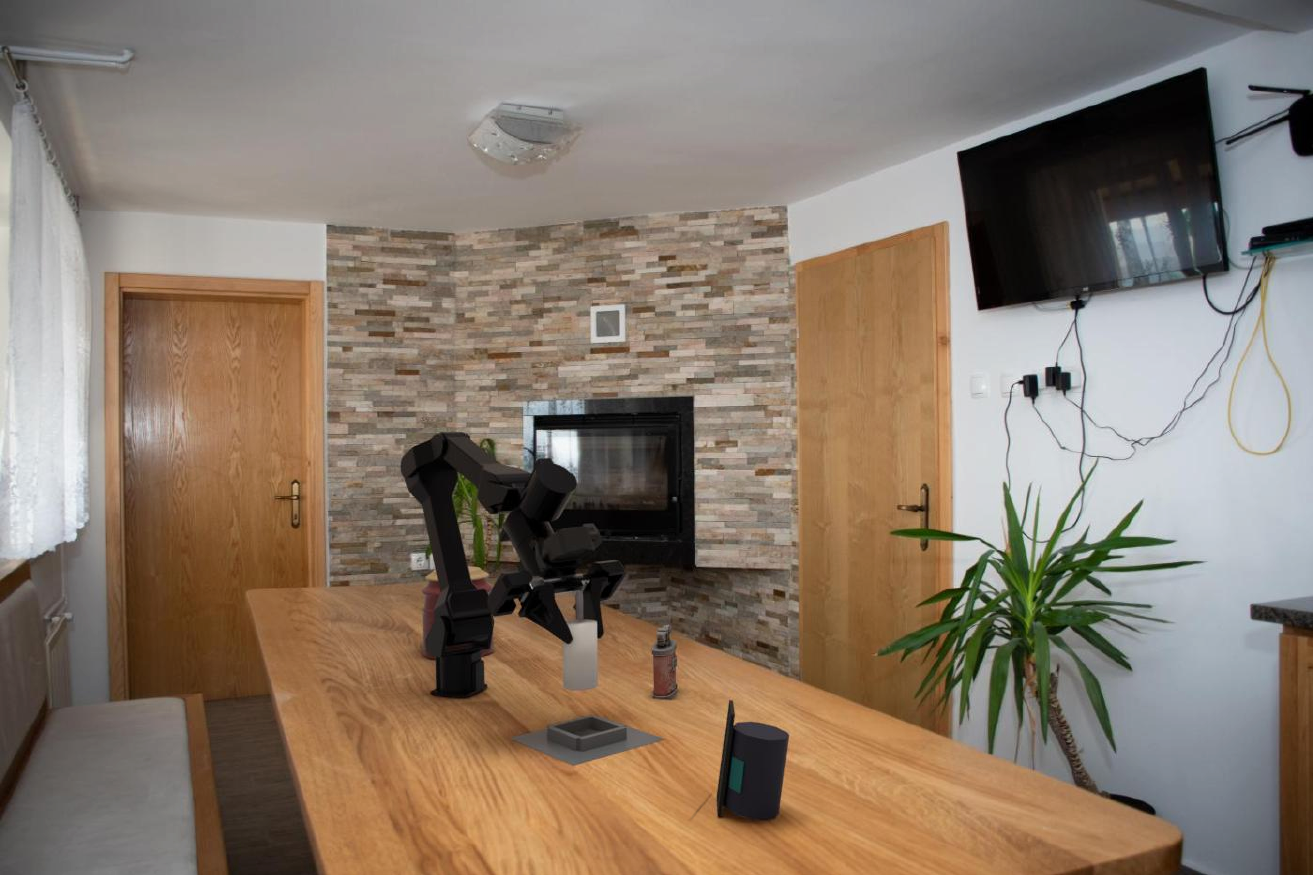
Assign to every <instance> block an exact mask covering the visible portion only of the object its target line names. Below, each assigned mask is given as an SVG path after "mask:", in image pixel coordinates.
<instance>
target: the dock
mask: <svg viewBox="0 0 1313 875" xmlns="http://www.w3.org/2000/svg"><path fill="white" fill-rule="evenodd" d="M509 739H511V740H512V741H514V742H517V743H519V744H521V745H524V746H526V747H528V748H530V749H533V750H535V751H537V752H540V753H542V754H545V755H547V756H549V757H551V758H554V759H557V761H558V760H559V761H561V762H564V763H566V764H567V765H570V766H572V767H573V766H578V765H581V764H584V763H588V762H592V761H595V760H599V759H602V758H606V757H610V756H612V755H616V754H619V753H625V752H627V751H631V750H634V749H638V748H640V747H644V746H648V745H653V744H654V743H659V742H662V741H665V740H666V738H663V737H661V736H658V735H656V734H655V735H654V734H653V733H652V734H651V733H649V732H646V731H643V730H640V729H637V728H634V727H632V726H628V725H626V724H623V723H621V722H617V721H614V720H611V719H609V718H605V717H602V716H600V715H592V714H589V715H586V716H581V717H577V718H574V719H573V718H572V719H569V720H565V721H560V722H557V723H552V724H548V725H546V728H544V729H540V730H537V731H536V730H535V731H532V732H528V733H524V734H520V735H515V736H511V737H509Z"/></svg>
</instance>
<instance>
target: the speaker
mask: <svg viewBox="0 0 1313 875" xmlns="http://www.w3.org/2000/svg"><path fill="white" fill-rule="evenodd" d="M735 718H736V712H735V706H734V700H731V699H729V700H728V707H727V715H726V721H725V729H724V738H723V746H722V752H721V758H720V759H721V760H720V769H719V775H718V785H717V790H716V791H717V792H716V809H717V811H716V812H717V818H722V817H723V812H724V811H723V810H724V809H726V810H727V811H730V812H731V813H732V814H734V815H736V816H739V817H743V818H747V819H751V820H758V821H765V820H772V819H776V817H777V816H778V815H779V814H780V808H781V807H780V806H781V798H782V794H783V793H782V792H783V785H784V778H785V769H786V762H787V754H788V748H789V741H790V740H789V738H790V734H789V732H787V731H786V730H783V729H782V728H780V727H777V726H774V725H770V724H766V723H763V722H757V721H756V722H755V721H743V722H740V721H739V722H736V723H735ZM723 808H724V809H723Z"/></svg>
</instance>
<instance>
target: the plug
mask: <svg viewBox="0 0 1313 875" xmlns="http://www.w3.org/2000/svg"><path fill="white" fill-rule="evenodd" d="M574 599H575V600H574V602H575V603H574V605H575V610H574V611H575V619H568V620H565V621H566V623H567V625H568V627H569V629H570V631H571V634H572V637H573V641H572V642H571V644H566V643H565V642H563V641H562V640H561V641H562V687H563V688H564V689H565V690H568V691H587V690H594V689H595V688H597V687H598V686H599V674H598V673H599V667H598V665H599V664H598V663H599V661H598V660H599V659H598V658H599V657H598V638H597V621H595V620H589V619H583V593H582V592H581V591H577V592H576V593H575V596H574Z"/></svg>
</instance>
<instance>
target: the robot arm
mask: <svg viewBox="0 0 1313 875" xmlns="http://www.w3.org/2000/svg"><path fill="white" fill-rule="evenodd" d="M400 472H401V475H402V477H403V478H404V481H405V486H406V489H407V491H408V493H409V494H411V496H412V497H414V499H415V500H416V501H417V502H418V503H419V504H420V505H421V508H422V512H423V518H424V522H425V526H426V531H427V535H428V541H429V545H430V549H431V554H432V559H433V560H432V561H433V563H434V567H435V568H434V570H435V569H436V574H437V578H438V583H439V588H440V594H439V597H438V600H437V602H436V605H435V608H434V619H435V621H434V623H433V625H432V627H431V628H430V630H429V632H428V634H427V636H426V638H425V645H426V651H427V653H428V654H431V655H434V656H436V659H435V688H434V689H432V690H430V692H429V694H430V696H442V697H452V698H453V697H456V698H469V697H471V696H473V695H475V694H477V693H480V692H481V691H483V690H485V689H488V684H487V683H485V660H483V659H482V657H483V656H481V650H485V649H486V650H488V649H490V645H491V640H492V634H493V635H494V628H495V620H494V619H495V617H502V616H508V615H513V613H514V612H515V610H516V608H517V603H516V601H515V599H518V602H519V605H520V606H521V607H520V608H519V610H518V613H517V616H518V617H519V618H520V619H521V618H526V619H527V620H530V621H531V622H532V623H534V624H536V625H538V626H539V627H541V628H543V629H545V631H547V632H549V633H550V634H552V635H553V636H555V637H556V638H557V639H559V640H561V641H563V642H565V643H566V644H571V642H572V641H573V637H572V634H571V631H570V629H569V627H568V625H567V623H566V621H567V620H566V619H565V617H564V615H563V613H562V611H561V610H560V607H559V605H558V603H557V601H556V595H562V594H569V593H572V594H573V596H574V597H575V593H576V592H577V591H581V592H582V593H583V619H589V620H595V621H597V640H598V639H602V637H603V636H604V635H605V630H604V623H603V617H602V616H603V615H602V607H601V605H602V604H601V602H603V601H607V600H609V599H611V597H612V596H613V595H614V594H615V592H616V590H617V589H618V588H619V586H620V584H622V581H623V580H624V578H625V577H626V575H627V574H628V573H627V571H626V570H625V568H624V566H623V564H622V562H621V561H620V560H616V559H613V560H611V559H609V560H604V561H603V560H602V561H594V562H593V563H592V564H591V566H590V568H589V569H588V570H587V572H586V574H585V573H584V574H583V573H577V572H576V570H577V569H580V568H581V567H582V565H583V560H582V559H581V558H583V557H584V556H585V555H587V554H590V553H593V552H594V551H595V549H597V548H598V547H599V546H601V544H602V536H601V533H600V531H599V529H598V528H597V527H596V526H595V523H584V524H582V525H581V526H577V527H567V528H566V527H565V528H561V529H559V530H556V531H554V529H553V528H552V526H551V524H550V522H555V521H556V520H558V519H559V518H560V516H561V515H562V513H563V511H564V510H565V507H566V506H567V505H568V503H569V500H570V498H571V497H572V495H573V494H574V491H575V490H576V488H577V486H578V481H577V478H576V476H575V474H573V472H571V471H569V470H568V469H566V468H565V467H564V466H562V465H560V464H557V463H554V461H553V459H552V458H551V457H542V458H541V457H540V458H537V459H536V461H535V463H534V465H533V469H532V471H531V472H529V471H527V470H524V469H522V468H520V467H516V466H510V465H506V464H503V463H501V462H499V461H498V460H497V459H496V458H495V457H493V456H492V455H491V454H490V453H488V451H486V450H485V449H483V448H482V447H481V446H479V445H478V444H477V443H476V442H474V441H473V440H472V439H471V436H470V435H469V434H468V433H465V432H463V431H441V432H440V431H439V432H438V433H436V434H434V435H433V436H432V437H431V438H430V439H427V440H425V441H423V442H421V443H418V444H416V445H414V446H412V447H411V448H410V449H409V450H408V451H407V452H406V453H405V454H404V455H403V456H402V458H401V460H400ZM459 474H460V475H461V476H463V477H464V478H465V479H466V480H467V481H469V482H470V483H471V484H472V485H473V486H474V487H475V488H476V490H477V494H476V498H477V500H478V502H479V503H480V504H481V506H482V507H483V508H484V509H485V511H486V512H487V513H488V514H490V515H502V514H504V515H506V514H507V517H506V518H505V520H504V521H503V522H502V527H501V530H500V532H499V538H498V539H499V542H500V543H501V542H502V543H503V542H505V543H506V542H511V545H512V547H513V548H514V550H515V553H516V554H517V556H518V558H519V561H518V563H517V565H516V568H517V571H507V572H500V575H499V576H498V578H497V580H496V581H495V584H493V589H492V590H491V592H490V594H489V596H488V593H487V591H486V590H485V589H484V588H483V589H478V588H477V587H476V586H475V585H474V584H473V583H472V581H471V577H470V573H469V568H468V566H469V564H468V560H467V556H466V552H465V551H466V550H465V547H464V542H463V539H462V533H461V529H460V525H459V520H458V516H457V512H456V508H455V504H454V503H455V502H454V498H453V495H454V492H455V489H456V486H457V484H458V482H459ZM572 608H573V610H574V611H575V604H574V605H573V606H572Z"/></svg>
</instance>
